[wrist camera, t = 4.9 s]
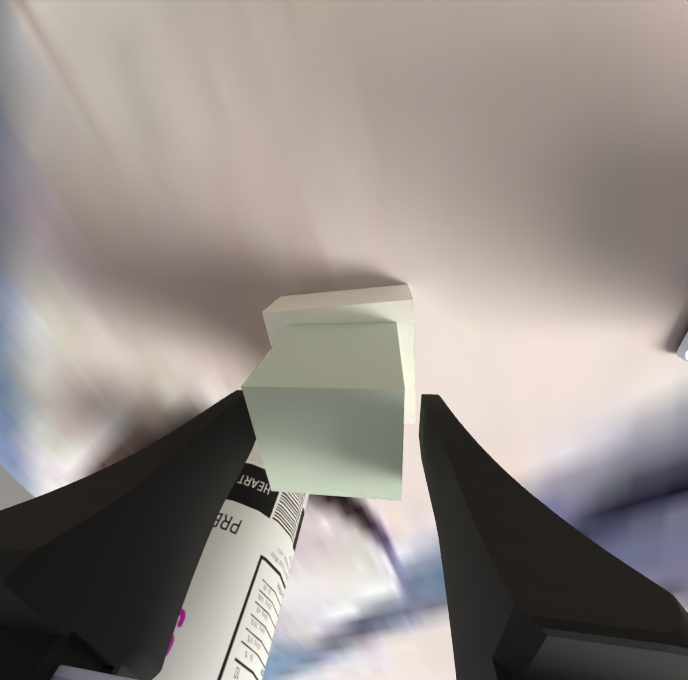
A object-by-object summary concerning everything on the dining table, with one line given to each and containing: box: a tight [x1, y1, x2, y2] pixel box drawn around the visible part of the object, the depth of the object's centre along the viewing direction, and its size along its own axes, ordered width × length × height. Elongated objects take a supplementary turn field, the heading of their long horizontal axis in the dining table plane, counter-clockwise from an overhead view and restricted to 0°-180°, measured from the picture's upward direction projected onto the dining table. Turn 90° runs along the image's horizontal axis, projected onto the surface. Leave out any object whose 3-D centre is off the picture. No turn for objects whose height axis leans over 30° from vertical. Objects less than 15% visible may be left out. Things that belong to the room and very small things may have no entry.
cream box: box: [262, 284, 416, 424], centre depth 15 cm, size 7×7×3 cm
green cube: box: [241, 322, 405, 501], centre depth 11 cm, size 5×5×5 cm
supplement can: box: [152, 439, 309, 680], centre depth 15 cm, size 8×8×15 cm
